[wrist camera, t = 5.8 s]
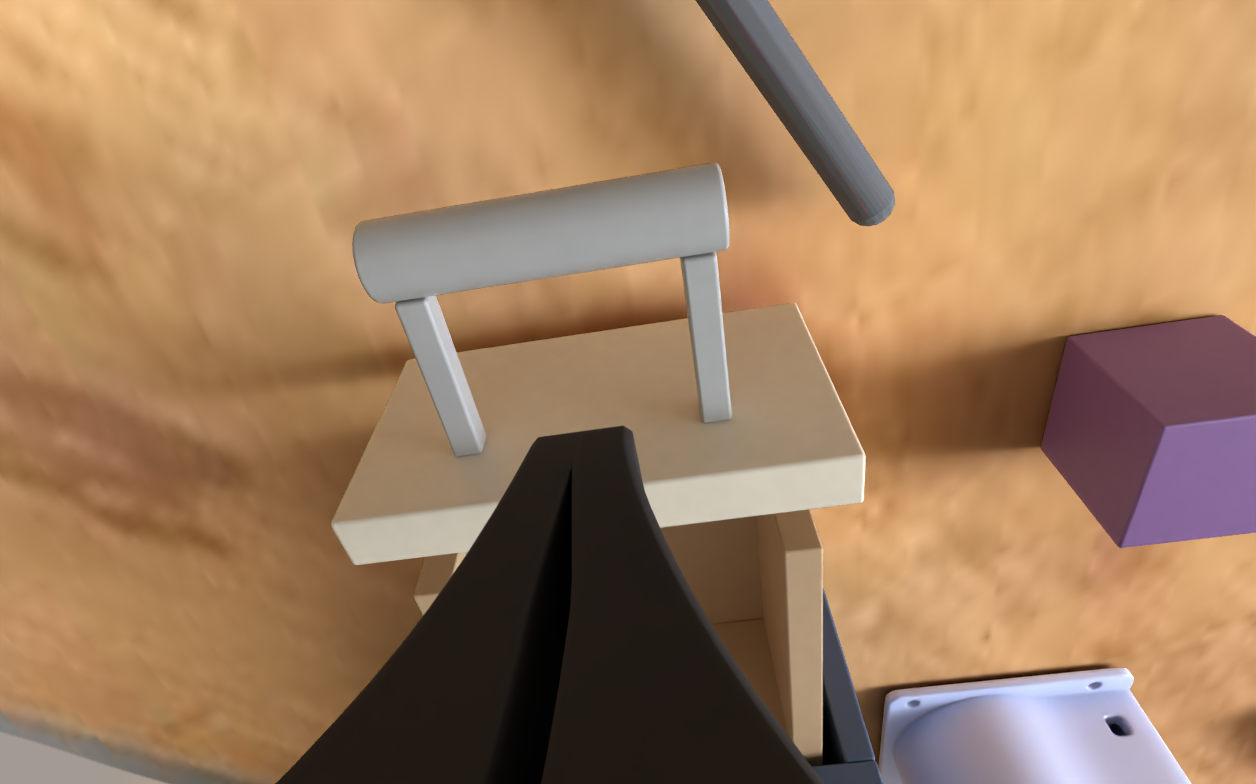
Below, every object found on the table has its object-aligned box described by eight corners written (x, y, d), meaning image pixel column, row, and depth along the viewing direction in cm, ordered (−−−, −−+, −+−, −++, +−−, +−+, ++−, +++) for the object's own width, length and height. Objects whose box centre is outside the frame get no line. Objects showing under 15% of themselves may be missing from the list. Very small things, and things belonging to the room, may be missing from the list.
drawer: (327, 167, 15) (190, 290, 10) (791, 87, 14) (882, 178, 9) (518, 631, 24) (494, 809, 19) (803, 599, 23) (850, 776, 18)
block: (1223, 313, 18) (1357, 402, 15) (1178, 430, 20) (1285, 530, 17) (1066, 335, 18) (1163, 427, 15) (1039, 448, 21) (1118, 549, 17)
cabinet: (498, 594, 24) (457, 830, 18) (814, 557, 23) (886, 791, 17) (571, 769, 31) (560, 981, 25) (816, 746, 31) (866, 959, 24)
